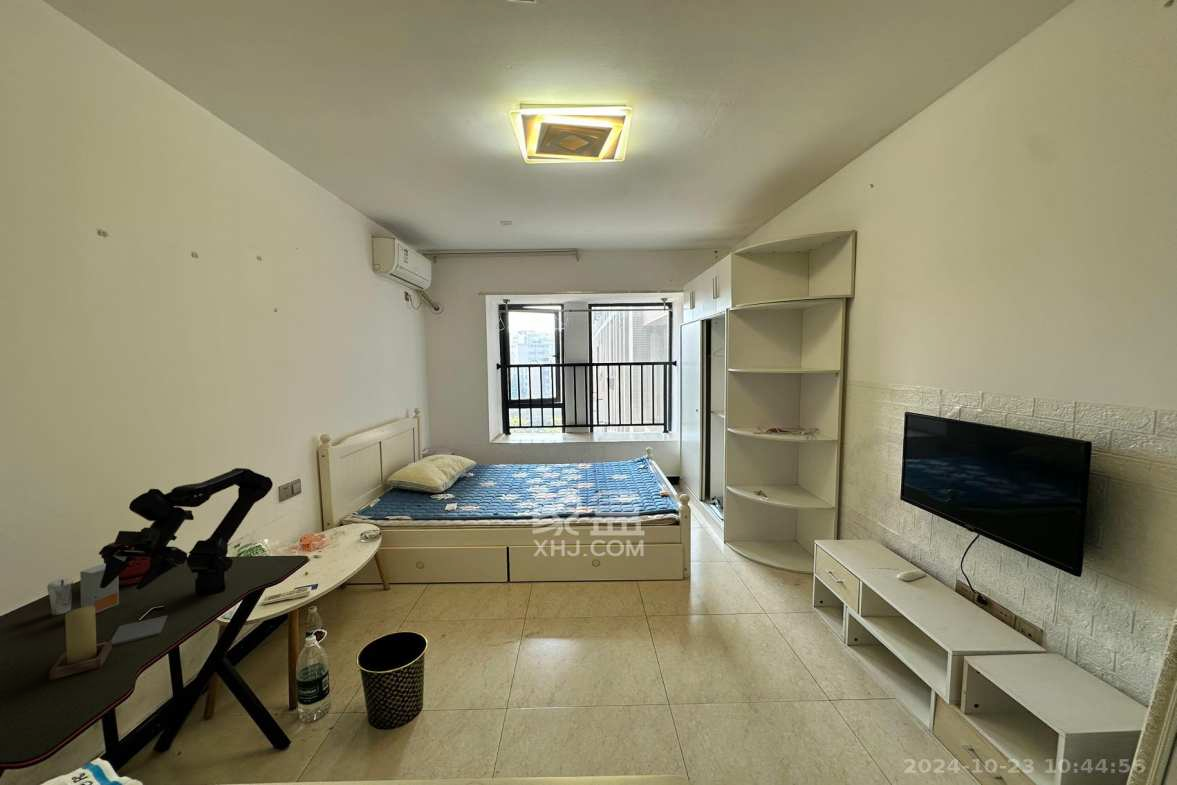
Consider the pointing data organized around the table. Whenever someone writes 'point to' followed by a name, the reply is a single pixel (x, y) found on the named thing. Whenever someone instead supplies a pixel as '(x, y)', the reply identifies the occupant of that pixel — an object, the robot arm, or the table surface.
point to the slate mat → (138, 630)
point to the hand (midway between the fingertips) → (119, 588)
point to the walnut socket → (63, 670)
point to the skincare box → (98, 589)
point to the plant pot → (133, 569)
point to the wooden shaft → (81, 635)
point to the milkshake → (60, 595)
